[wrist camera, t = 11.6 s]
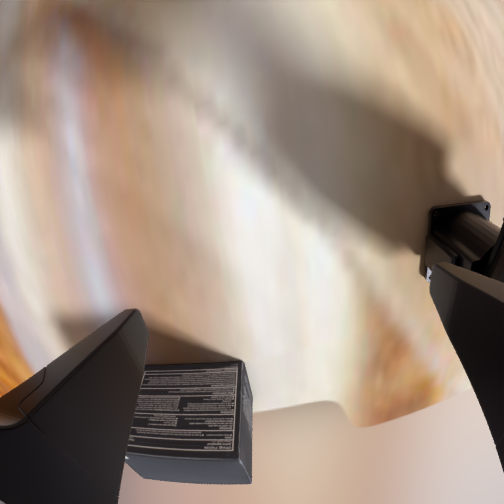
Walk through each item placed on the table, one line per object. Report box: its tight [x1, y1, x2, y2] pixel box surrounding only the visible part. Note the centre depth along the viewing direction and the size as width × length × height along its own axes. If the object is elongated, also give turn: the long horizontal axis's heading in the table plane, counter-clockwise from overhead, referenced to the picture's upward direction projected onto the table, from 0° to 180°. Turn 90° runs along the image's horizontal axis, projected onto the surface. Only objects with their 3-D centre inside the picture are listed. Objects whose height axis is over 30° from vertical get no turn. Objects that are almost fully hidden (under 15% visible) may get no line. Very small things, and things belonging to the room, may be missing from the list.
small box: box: [125, 361, 253, 484], centre depth 24 cm, size 11×6×10 cm, turn 99°
